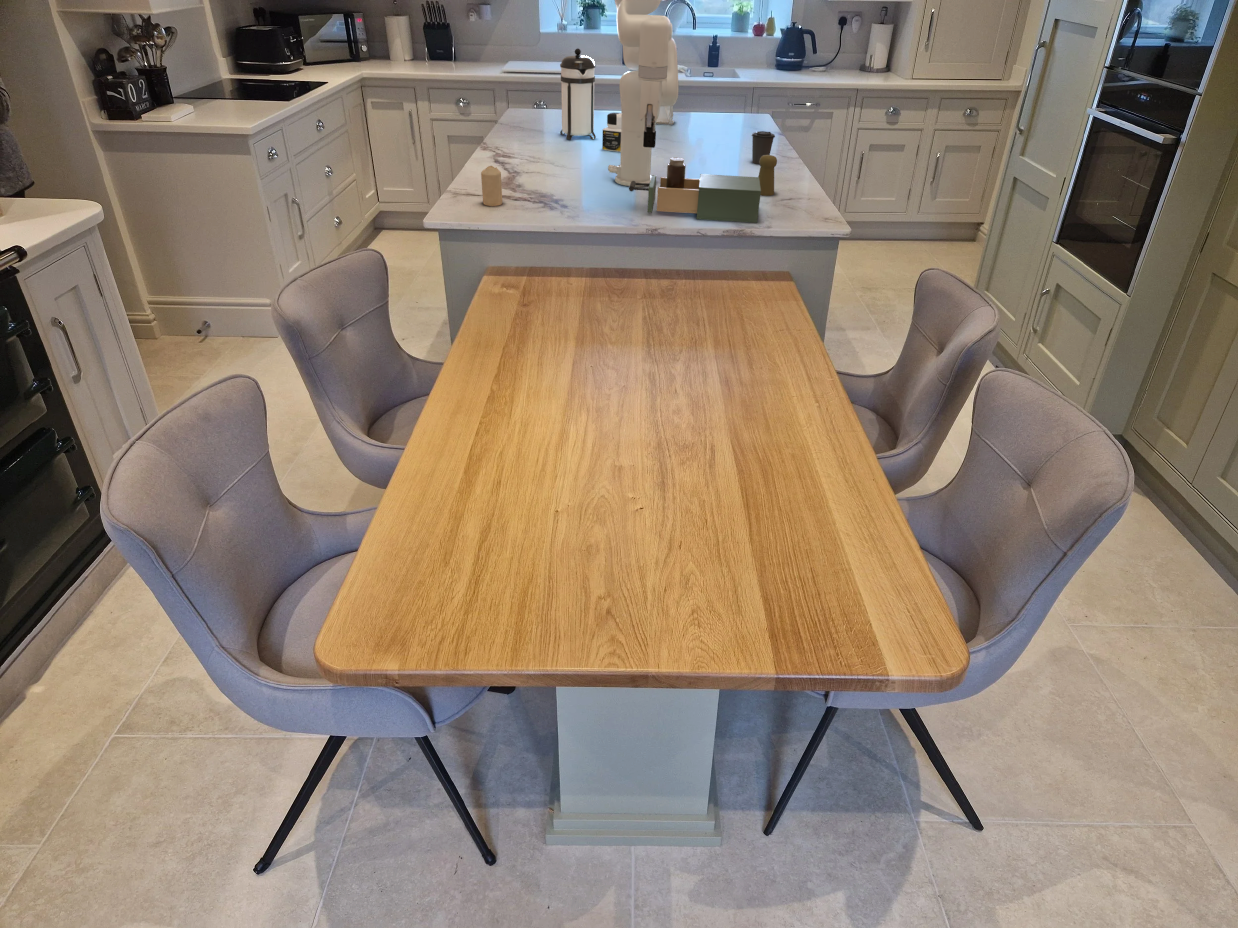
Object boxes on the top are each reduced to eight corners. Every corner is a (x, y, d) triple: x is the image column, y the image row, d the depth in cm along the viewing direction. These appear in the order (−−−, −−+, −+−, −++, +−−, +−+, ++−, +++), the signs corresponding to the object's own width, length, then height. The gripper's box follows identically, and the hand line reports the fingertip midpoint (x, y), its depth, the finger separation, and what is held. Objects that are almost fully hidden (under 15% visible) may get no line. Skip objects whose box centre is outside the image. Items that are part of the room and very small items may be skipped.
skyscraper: (652, 123, 331) (655, 47, 315) (654, 120, 338) (658, 45, 322) (672, 125, 330) (677, 48, 314) (674, 121, 337) (679, 46, 321)
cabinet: (696, 219, 223) (699, 187, 218) (697, 204, 235) (700, 174, 230) (757, 223, 221) (760, 191, 217) (755, 208, 234) (759, 177, 229)
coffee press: (606, 136, 309) (608, 48, 292) (582, 143, 297) (583, 52, 281) (569, 130, 316) (569, 44, 300) (545, 136, 305) (543, 48, 288)
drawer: (626, 211, 224) (627, 186, 220) (631, 198, 235) (632, 174, 232) (703, 215, 223) (705, 190, 219) (704, 202, 234) (706, 178, 230)
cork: (773, 196, 244) (778, 158, 238) (753, 195, 245) (758, 157, 239) (774, 191, 249) (779, 154, 243) (754, 189, 250) (759, 152, 244)
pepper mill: (664, 205, 226) (667, 160, 220) (665, 200, 230) (668, 156, 224) (682, 206, 226) (685, 161, 219) (683, 201, 230) (686, 157, 223)
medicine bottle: (601, 150, 289) (602, 114, 282) (609, 146, 295) (610, 111, 288) (620, 152, 287) (621, 116, 280) (627, 148, 292) (629, 113, 286)
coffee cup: (776, 163, 280) (780, 132, 274) (763, 167, 275) (766, 135, 269) (757, 159, 284) (760, 128, 279) (743, 162, 279) (746, 131, 274)
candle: (483, 200, 232) (481, 164, 226) (502, 201, 232) (501, 164, 227) (482, 206, 227) (480, 169, 222) (502, 206, 228) (500, 169, 222)
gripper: (641, 68, 217) (638, 140, 227) (635, 77, 205) (632, 152, 215) (669, 69, 216) (664, 141, 227) (665, 78, 204) (660, 154, 214)
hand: (649, 146), depth 221 cm, fingers closed
